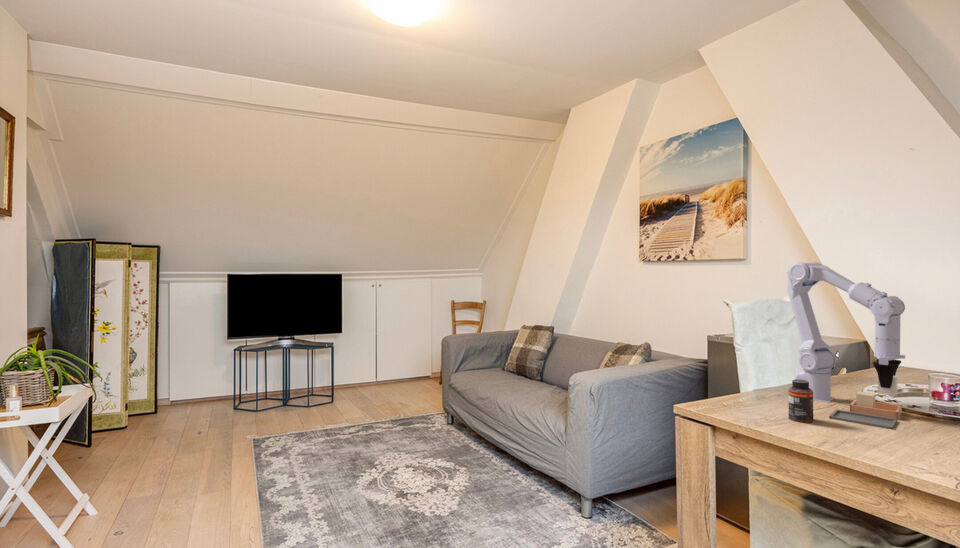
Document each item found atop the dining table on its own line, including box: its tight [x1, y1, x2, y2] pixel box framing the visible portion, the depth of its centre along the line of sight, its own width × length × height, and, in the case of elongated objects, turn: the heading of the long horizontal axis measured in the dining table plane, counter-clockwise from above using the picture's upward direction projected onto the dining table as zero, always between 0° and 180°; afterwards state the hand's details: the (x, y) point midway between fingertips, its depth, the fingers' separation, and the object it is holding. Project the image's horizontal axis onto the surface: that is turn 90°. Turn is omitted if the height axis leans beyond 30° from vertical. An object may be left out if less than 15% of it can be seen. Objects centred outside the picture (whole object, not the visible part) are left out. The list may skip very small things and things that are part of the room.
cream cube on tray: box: [877, 375, 899, 397], centre depth 149 cm, size 4×4×5 cm
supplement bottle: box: [787, 379, 814, 424], centre depth 145 cm, size 6×6×11 cm
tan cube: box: [855, 390, 876, 408], centre depth 153 cm, size 4×4×5 cm
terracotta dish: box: [849, 398, 903, 421], centre depth 151 cm, size 11×9×2 cm
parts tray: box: [828, 409, 898, 430], centre depth 144 cm, size 14×9×1 cm, turn 46°
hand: (886, 386), depth 149 cm, fingers closed on cream cube on tray, 4 cm apart
